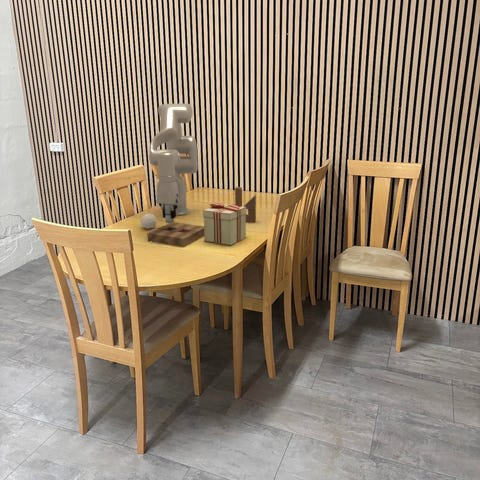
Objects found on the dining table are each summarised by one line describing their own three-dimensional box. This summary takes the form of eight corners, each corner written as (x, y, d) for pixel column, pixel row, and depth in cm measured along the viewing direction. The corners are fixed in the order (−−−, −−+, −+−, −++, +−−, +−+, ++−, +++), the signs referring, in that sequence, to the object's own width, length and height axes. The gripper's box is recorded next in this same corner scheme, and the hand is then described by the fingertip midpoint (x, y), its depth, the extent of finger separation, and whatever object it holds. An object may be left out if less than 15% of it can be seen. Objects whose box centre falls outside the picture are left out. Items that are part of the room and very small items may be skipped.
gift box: (249, 234, 233) (249, 199, 228) (233, 246, 217) (233, 209, 212) (218, 230, 240) (217, 196, 234) (200, 242, 224) (198, 205, 218)
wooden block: (254, 222, 252) (254, 188, 246) (234, 221, 254) (233, 188, 248) (256, 221, 255) (255, 187, 250) (236, 219, 258) (235, 186, 252)
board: (147, 241, 226) (147, 233, 225) (172, 229, 243) (171, 221, 242) (183, 247, 217) (183, 238, 216) (206, 234, 234) (206, 226, 233)
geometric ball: (145, 233, 247) (138, 219, 248) (159, 226, 248) (152, 212, 249) (144, 230, 239) (137, 216, 240) (159, 222, 241) (151, 208, 242)
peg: (164, 222, 228) (162, 199, 225) (168, 220, 232) (167, 197, 228) (170, 223, 227) (169, 200, 223) (175, 221, 230) (174, 198, 227)
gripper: (147, 179, 223) (150, 217, 229) (177, 182, 216) (179, 221, 222) (157, 176, 230) (159, 213, 235) (186, 179, 222) (188, 217, 228)
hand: (169, 217), depth 228 cm, fingers closed on peg, 3 cm apart
